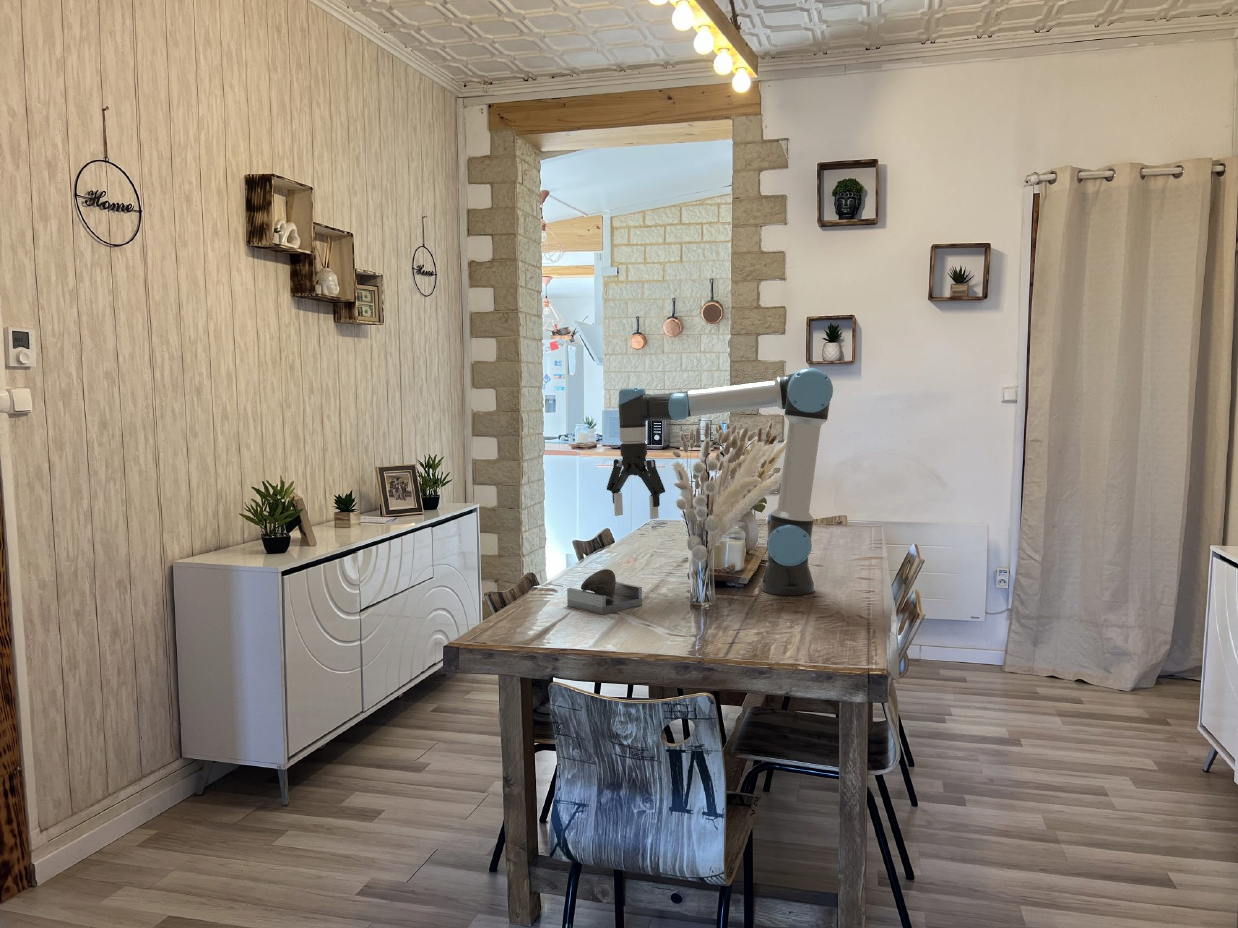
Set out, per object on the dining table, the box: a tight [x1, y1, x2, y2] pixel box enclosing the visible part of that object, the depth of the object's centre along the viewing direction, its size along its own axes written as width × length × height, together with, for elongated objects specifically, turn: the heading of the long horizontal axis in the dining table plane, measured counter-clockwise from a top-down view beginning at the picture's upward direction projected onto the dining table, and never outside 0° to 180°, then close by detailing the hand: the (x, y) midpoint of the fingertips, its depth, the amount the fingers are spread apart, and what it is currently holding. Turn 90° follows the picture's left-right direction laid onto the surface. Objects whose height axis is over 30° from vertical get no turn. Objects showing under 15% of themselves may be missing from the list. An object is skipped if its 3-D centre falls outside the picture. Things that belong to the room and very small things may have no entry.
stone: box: [580, 568, 617, 598], centre depth 247 cm, size 10×8×10 cm
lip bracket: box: [566, 581, 643, 616], centre depth 248 cm, size 14×15×5 cm
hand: (636, 516), depth 256 cm, fingers open, 13 cm apart
